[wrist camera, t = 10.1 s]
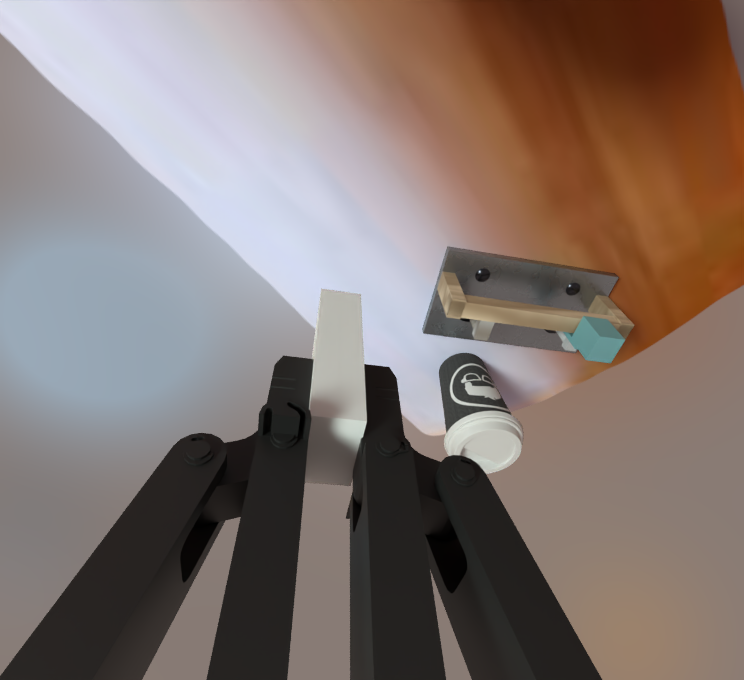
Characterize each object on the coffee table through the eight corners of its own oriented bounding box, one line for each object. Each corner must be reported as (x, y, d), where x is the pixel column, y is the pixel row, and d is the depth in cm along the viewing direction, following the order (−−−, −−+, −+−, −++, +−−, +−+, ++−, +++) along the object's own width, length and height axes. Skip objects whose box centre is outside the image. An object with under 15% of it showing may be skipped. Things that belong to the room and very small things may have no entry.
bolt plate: (447, 246, 53) (449, 250, 52) (614, 273, 56) (619, 277, 55) (422, 328, 60) (423, 333, 59) (572, 348, 63) (576, 353, 62)
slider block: (561, 287, 55) (599, 336, 47) (583, 290, 56) (625, 339, 47) (542, 324, 59) (576, 376, 50) (563, 327, 59) (600, 379, 51)
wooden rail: (442, 271, 54) (452, 298, 48) (607, 296, 57) (634, 325, 52) (431, 307, 57) (439, 337, 51) (589, 329, 60) (612, 359, 55)
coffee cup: (416, 363, 63) (432, 446, 51) (478, 333, 61) (510, 412, 48) (446, 404, 68) (467, 487, 56) (504, 377, 66) (540, 459, 53)
